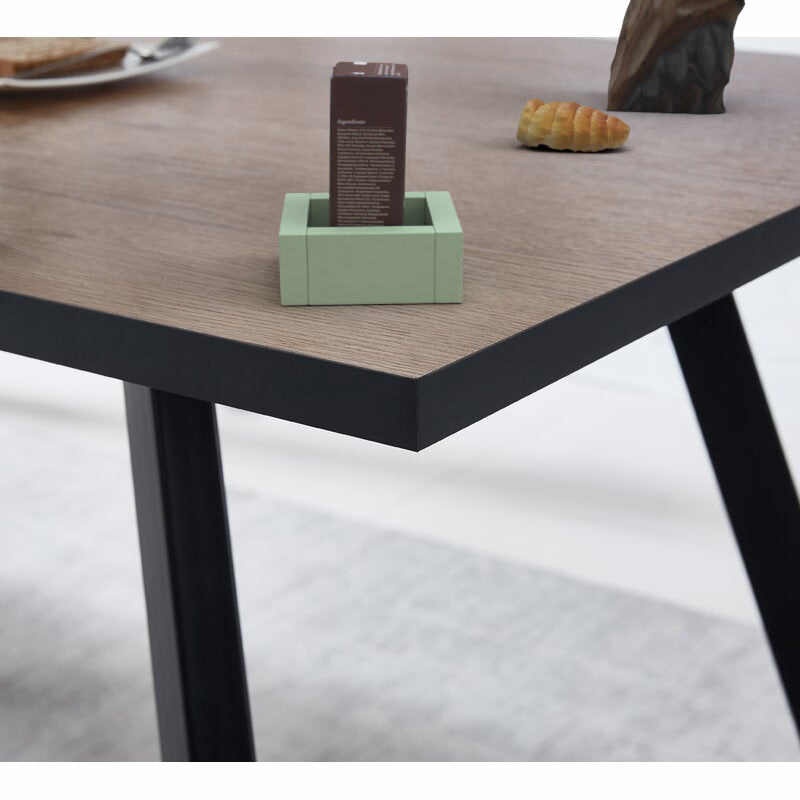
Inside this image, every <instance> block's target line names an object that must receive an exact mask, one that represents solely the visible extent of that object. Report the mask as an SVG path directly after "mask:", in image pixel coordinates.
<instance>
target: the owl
mask: <svg viewBox="0 0 800 800" xmlns="http://www.w3.org/2000/svg"><path fill="white" fill-rule="evenodd" d="M745 1H746V0H630V1H629V2H628V5H627V7H626V10H625V12H624V17H623V19H622V24H621V29H620V31H619V36H618V39H617V44H616V49H615V54H614V57H613V59H612V62H611V64H610V76H609V80H608V87H607V106H606V111H608V112H610V111H612V112H613V111H614V112H619V111H620V112H639V113H641V112H642V113H667V114H669V113H670V114H681V113H682V114H697V115H698V114H699V115H709V114H710V115H713V114H715V115H716V114H723V113H724V114H725V113H726V111H727V109H726V106H725V104H724V92H725V89H726V86H727V85H728V84H729V83H730V79H731V73H732V68H733V66H734V60H735V54H736V51H735V50H736V47H735V40H734V32H735V28H736V25H737V22H738V18H739V16H740V14H741V13H742V11H743V10H744V8H745V6H746V2H745Z"/></svg>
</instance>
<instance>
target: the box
mask: <svg viewBox="0 0 800 800" xmlns="http://www.w3.org/2000/svg"><path fill="white" fill-rule="evenodd" d="M331 70H332V73H331V75H330V77H329V79H330V81H329V83H330V84H329V138H328V139H329V154H328V155H329V156H328V157H329V159H328V161H329V163H328V165H329V169H328V170H329V171H328V173H329V174H328V176H329V179H328V182H329V186H328V193H329V227H379V226H404V209H405V192H406V162H407V161H406V160H407V159H406V158H407V127H408V126H407V125H408V96H409V69H408V65H407V64H406V63H394V62H393V63H392V62H372V61H371V62H369V61H368V62H367V61H338V62H337V63H336V64H335V66H333V67H332V69H331Z"/></svg>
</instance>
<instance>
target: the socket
mask: <svg viewBox="0 0 800 800" xmlns="http://www.w3.org/2000/svg"><path fill="white" fill-rule="evenodd" d="M277 236H278V237H277V239H278V263H279V264H278V265H279V267H278V268H279V286H280V287H279V289H280V291H279V292H280V305H281V306H282V307H283V306H284V307H285V306H286V307H287V306H288V307H289V306H308V305H309V306H336V305H337V306H343V305H345V306H347V305H403V304H404V305H405V304H406V305H407V304H408V305H409V304H412V305H413V304H462V303H463V272H464V271H463V269H464V268H463V266H464V263H463V261H464V260H463V259H464V231H463V228H462V226H461V222H460V219H459V216H458V214H457V211H456V208H455V205H454V202H453V200H452V197H451V194H450V191H448V190H444V191H443V190H442V191H441V190H439V191H438V190H436V191H435V190H434V191H430V190H429V191H405V209H404V226H379V227H329V192H289V193H288V192H287V193H285V195H284V201H283V206H282V212H281V218H280V224H279V228H278V234H277Z"/></svg>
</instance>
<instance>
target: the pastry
mask: <svg viewBox="0 0 800 800" xmlns="http://www.w3.org/2000/svg"><path fill="white" fill-rule="evenodd" d="M630 133H631V127H630V125H629V124H627V123H626V122H624V121H623V120H621V119H620V118H619V117H617V116H614V115H609V114H607V113H604V112H603V111H601V110H599V109H596V108H594V107H590V106H583V105H581V104H580V103H578V102H577V101H571V102H564V101H552V102H548V103H546V102H543V101H542V100H539V99H538V98H532V99H530V100H528V101H526V102H525V106H524V108H523V109H522V111H521V114H520V116H519V121H518V125H517V130H516V133H515V136H516V137H515V138H516V139H517V141H519V142H520V143H521V144H522V145H525V146H526V147H528V148H532V147H535V148H538V146H539V145H545V146H547V147H548V148H550V149H553V150H560V151H563V150H566V149H567V150H571V151H573V152H574V153H576V152H577V151H581V152H583V153H586V152H591V153H592V152H593V153H596V152H598V151H603V150H605V149H619V148H620V147H623V146H624V145H625V144H626V143H627V142H628V140H629V136H630Z"/></svg>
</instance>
